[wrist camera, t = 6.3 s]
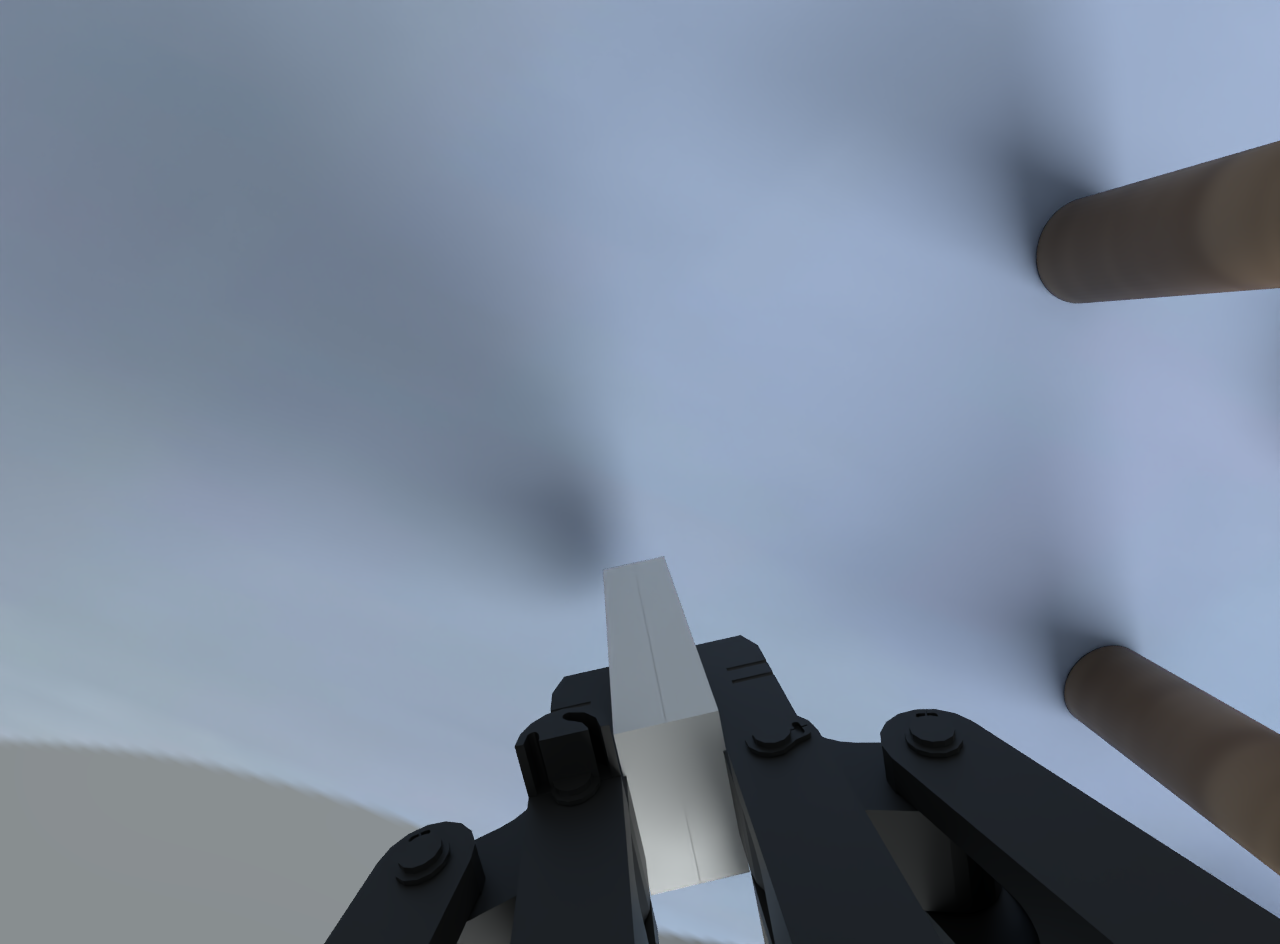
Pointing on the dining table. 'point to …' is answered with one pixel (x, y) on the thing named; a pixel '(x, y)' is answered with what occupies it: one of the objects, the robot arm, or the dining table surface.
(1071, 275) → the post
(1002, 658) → the dining table surface
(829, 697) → the dining table surface
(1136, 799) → the dining table surface
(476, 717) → the dining table surface
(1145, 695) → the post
